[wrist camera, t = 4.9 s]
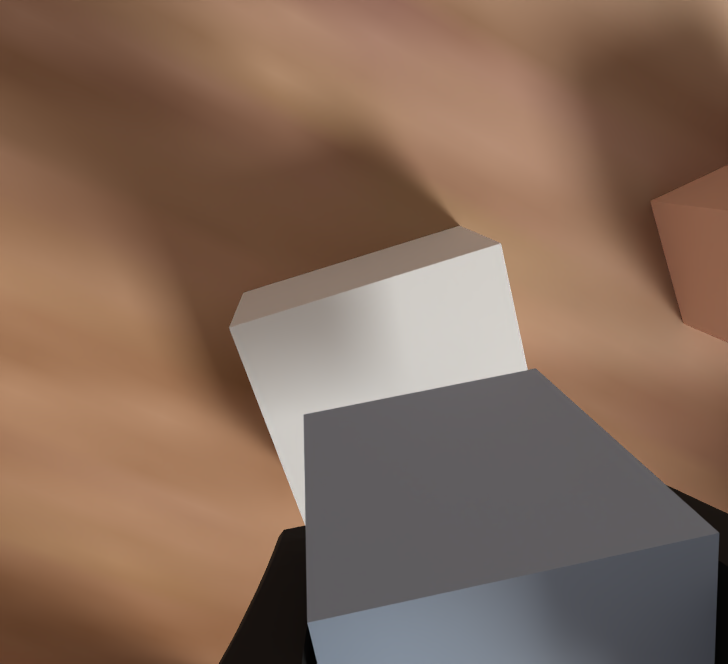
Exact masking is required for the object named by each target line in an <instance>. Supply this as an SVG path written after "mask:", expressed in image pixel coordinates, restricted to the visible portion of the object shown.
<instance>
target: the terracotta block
mask: <svg viewBox="0 0 728 664" xmlns="http://www.w3.org/2000/svg"><path fill="white" fill-rule="evenodd" d="M650 203H651V206H652V210H653V214H654V217H655V221H656V225H657V228H658V232H659V236H660V239H661V243H662V247H663V250H664V254H665V258H666V261H667V265H668V269H669V272H670V276H671V280H672V283H673V287H674V291H675V294H676V298H677V302H678V305H679V309H680V313H681V317H682V320H683V323H684V324H686V325H688V326H691V327H693V328H695V329H698V330H700V331H702V332H705V333H707V334H709V335H712V336H714V337H716V338H719V339H721V340H723V341H726V342H728V165H726V166H724V167H722V168H720V169H718V170H716V171H713V172H711V173H709V174H707V175H705V176H703V177H701V178H698V179H696V180H694V181H692V182H690V183H688V184H686V185H683V186H681V187H679V188H677V189H675V190H673V191H671V192H668V193H666V194H664V195H662V196H660V197H658V198H656V199H653V200H651V201H650Z"/></svg>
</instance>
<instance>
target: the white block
mask: <svg viewBox="0 0 728 664" xmlns="http://www.w3.org/2000/svg"><path fill="white" fill-rule="evenodd" d="M229 329H230V332H231V334H232V337H233V339H234V342H235V345H236V347H237V350H238V352H239V355H240V358H241V360H242V363H243V365H244V368H245V371H246V373H247V376H248V378H249V381H250V383H251V386H252V389H253V391H254V394H255V396H256V399H257V402H258V404H259V407H260V409H261V412H262V415H263V417H264V420H265V422H266V425H267V428H268V430H269V433H270V435H271V438H272V440H273V443H274V446H275V448H276V451H277V453H278V456H279V459H280V461H281V464H282V466H283V469H284V472H285V474H286V477H287V479H288V482H289V485H290V487H291V490H292V492H293V495H294V497H295V500H296V503H297V505H298V508H299V510H300V513H301V516H302V518H303V521H304V523H305V470H304V416H303V414H308V413H314V412H319V411H324V410H329V409H334V408H339V407H344V406H349V405H354V404H359V403H364V402H369V401H374V400H379V399H384V398H389V397H394V396H399V395H404V394H409V393H415V392H420V391H425V390H430V389H435V388H440V387H445V386H450V385H455V384H460V383H465V382H470V381H475V380H480V379H485V378H490V377H495V376H500V375H505V374H511V373H516V372H521V371H526V370H528V369H527V365H526V360H525V355H524V350H523V346H522V341H521V336H520V331H519V327H518V322H517V317H516V313H515V308H514V303H513V298H512V294H511V289H510V284H509V279H508V275H507V270H506V265H505V260H504V256H503V251H502V246H501V243H499V242H497V241H494V240H492V239H490V238H487V237H485V236H483V235H480V234H478V233H476V232H473V231H471V230H469V229H466V228H464V227H462V226H457V227H454V228H451V229H447V230H444V231H441V232H438V233H434V234H431V235H428V236H425V237H421V238H418V239H415V240H412V241H409V242H405V243H402V244H399V245H396V246H392V247H389V248H386V249H383V250H379V251H376V252H373V253H370V254H367V255H363V256H360V257H357V258H354V259H350V260H347V261H344V262H341V263H337V264H334V265H331V266H328V267H325V268H321V269H318V270H315V271H312V272H308V273H305V274H302V275H299V276H295V277H292V278H289V279H286V280H283V281H279V282H276V283H273V284H270V285H266V286H263V287H260V288H257V289H253V290H250V291H247V292H244V293H243V294H242V297H241V299H240V302H239V304H238V307H237V309H236V312H235V314H234V317H233V319H232V321H231V324H230V326H229ZM305 526H306V524H305Z"/></svg>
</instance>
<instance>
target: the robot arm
mask: <svg viewBox="0 0 728 664" xmlns="http://www.w3.org/2000/svg"><path fill="white" fill-rule="evenodd" d="M666 486H667V485H666ZM667 487H669V486H667ZM669 488H670V489H671V490H672V491H673V492H674V493H675V494H676V495H677V496H679V497H680V498H681V499H682V500H683V501H684V502H685V503H686V504H688V505H689V506H690V507H691V508H692V509H693V510H694V511H695V512H696V513H698V514H699V515H700V516H701V517H702V518H703V519H704V520H705V521H707V522H708V523H709V524H710V525H711V526H712V527H713V528H714V529H715V530H717V531H718V532H719V554H718V581H717V608H716V636H715V663H714V664H728V514H727V513H725V512H723V511H721V510H719V509H716V508H714V507H712V506H710V505H708V504H706V503H703V502H701V501H699V500H697V499H695V498H693V497H691V496H688V495H686V494H684V493H682V492H680V491H678V490H676V489H674V488H671V487H669ZM219 664H317V660H316V656H315V652H314V648H313V644H312V640H311V636H310V632H309V628H308V624H307V579H306V526H301V527H296V528H291V529H286V530H284V531H283V532H282V533H281V535H280V536H279V538H278V540H277V543H276V546H275V549H274V551H273V554H272V556H271V559H270V561H269V563H268V566H267V568H266V571H265V573H264V575H263V577H262V580H261V582H260V584H259V586H258V589H257V591H256V593H255V595H254V597H253V599H252V601H251V603H250V605H249V607H248V609H247V611H246V613H245V615H244V617H243V619H242V622H241V624H240V626H239V628H238V630H237V632H236V633H235V635H234V637H233V639H232V641H231V643H230V645H229V646H228V648H227V650H226V652H225V654H224V655H223V657H222V659H221V661H220V662H219Z"/></svg>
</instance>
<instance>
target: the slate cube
mask: <svg viewBox="0 0 728 664" xmlns="http://www.w3.org/2000/svg"><path fill="white" fill-rule="evenodd" d="M303 416H304V470H305V524H306V579H307V624H308V628H309V632H310V636H311V640H312V644H313V648H314V652H315V656H316V660H317V664H714V663H715V636H716V608H717V581H718V554H719V532H718V531H717V530H715V529H714V528H713V527H712V526H711V525H710V524H709V523H708V522H707V521H705V520H704V519H703V518H702V517H701V516H700V515H699V514H698V513H696V512H695V511H694V510H693V509H692V508H691V507H690V506H689V505H688V504H686V503H685V502H684V501H683V500H682V499H681V498H680V497H679V496H677V495H676V494H675V493H674V492H673V491H672V490H671V489H670V488H669V487H667V486H666V485H665V484H664V483H663V482H662V481H661V480H660V479H659V478H657V477H656V476H655V475H654V474H653V473H652V472H651V471H650V470H648V469H647V468H646V467H645V466H644V465H643V464H642V463H641V462H640V461H638V460H637V459H636V458H635V457H634V456H633V455H632V454H631V453H629V452H628V451H627V450H626V449H625V448H624V447H623V446H622V445H621V444H619V443H618V442H617V441H616V440H615V439H614V438H613V437H612V436H610V435H609V434H608V433H607V432H606V431H605V430H604V429H603V428H602V427H600V426H599V425H598V424H597V423H596V422H595V421H594V420H593V419H591V418H590V417H589V416H588V415H587V414H586V413H585V412H584V411H583V410H581V409H580V408H579V407H578V406H577V405H576V404H575V403H574V402H572V401H571V400H570V399H569V398H568V397H567V396H566V395H565V394H564V393H562V392H561V391H560V390H559V389H558V388H557V387H556V386H555V385H553V384H552V383H551V382H550V381H549V380H548V379H547V378H546V377H545V376H543V375H542V374H541V373H540V372H539V371H538V370H537V369H531V370H526V371H521V372H516V373H511V374H505V375H500V376H495V377H490V378H485V379H480V380H475V381H470V382H465V383H460V384H455V385H450V386H445V387H440V388H435V389H430V390H425V391H420V392H415V393H409V394H404V395H399V396H394V397H389V398H384V399H379V400H374V401H369V402H364V403H359V404H354V405H349V406H344V407H339V408H334V409H329V410H324V411H319V412H314V413H308V414H303Z"/></svg>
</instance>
